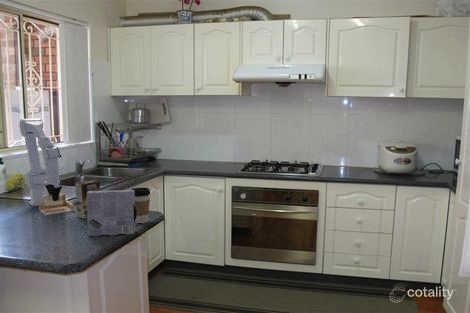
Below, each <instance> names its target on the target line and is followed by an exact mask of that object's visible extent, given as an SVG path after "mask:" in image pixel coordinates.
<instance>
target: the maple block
mask: <svg viewBox="0 0 470 313" xmlns="http://www.w3.org/2000/svg"><path fill="white" fill-rule="evenodd" d="M66 200H67V199H66V194H65V193H64V192H60V194H59V199H58V201H53V198H52V194H50V195H49V194H46V195H43V205H45V206H53V205H60V204H66Z"/></svg>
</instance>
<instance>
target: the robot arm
mask: <svg viewBox="0 0 470 313" xmlns="http://www.w3.org/2000/svg"><path fill="white" fill-rule="evenodd" d="M18 127H19V129H20V130H19V131H20V135H21V137H22V138H24V140H25V145H26V151H27V156H28V160H29V162H28V163H29V167H30V169H29V170H27V171H26V173H25V183H26V186H27V187H28V188H29V189H30V190H29V195H30V201H29V202H28V203H29V204H30V205H31V206H32V207H36V206H38V207H39V204H43V195H47V193H48V195H50V194H52V198H53V201H58V199H59V194H60V193H61V190H62V189H63V186H62V185H60V183H61V180H60V170H59V169H60V168H59V159H60V157H61V156H60V155H61V151H60V148H59V147H58V146H56V145H54V144H53V142H52V140H51V138H50V137H48V136H46V133H45V131H44V121H43V119H42V118H39V117H38V118H21V119H20V121H19V126H18ZM38 146H39V148H40V149H41V152H42V153H41V154H42V158H43V163H44V164H45V168H44V167H42V164H41V159H40V154H39V148H38Z"/></svg>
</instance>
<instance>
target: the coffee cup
mask: <svg viewBox="0 0 470 313" xmlns="http://www.w3.org/2000/svg"><path fill="white" fill-rule="evenodd" d="M131 190H134V191H135V203H136V206H137V217H136V220H135V222H136V223H135V224H138V223H142V224H146V223H145V222H147V223H148V222H149V216H150V201H151V199H150V195H151V191H150V188H149V187H134V188H131Z"/></svg>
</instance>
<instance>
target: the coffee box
mask: <svg viewBox="0 0 470 313" xmlns="http://www.w3.org/2000/svg"><path fill="white" fill-rule="evenodd" d="M74 186H75V202H76V205H75V206H76V208H75V209H76V217H77V218H79V219H87V192H88V191H101V182H100V180H94V179H91V180H84V181H78V182H75V185H74Z"/></svg>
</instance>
